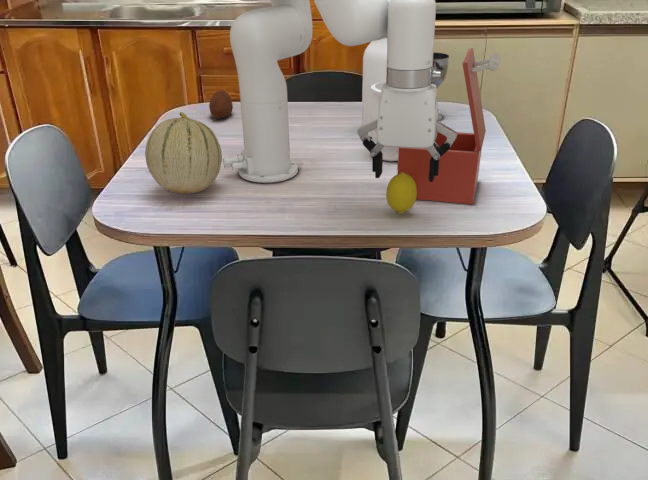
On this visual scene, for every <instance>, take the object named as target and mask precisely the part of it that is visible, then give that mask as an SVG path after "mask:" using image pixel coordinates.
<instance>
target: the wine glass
mask: <svg viewBox="0 0 648 480" xmlns="http://www.w3.org/2000/svg"><path fill="white" fill-rule="evenodd" d="M449 64H450V55H449V54H447V53H442V52H433V68H434V70H437V71H441V78H440V80H434V81H433V82H432V83H431V84H434V85H436V89H439V87H440V86H441V85H442V84H443V83H444V81H445V79H446V77H447V74H448V70H449ZM442 119H443V116H442V115H440V114H438V121H440V120H442Z"/></svg>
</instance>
